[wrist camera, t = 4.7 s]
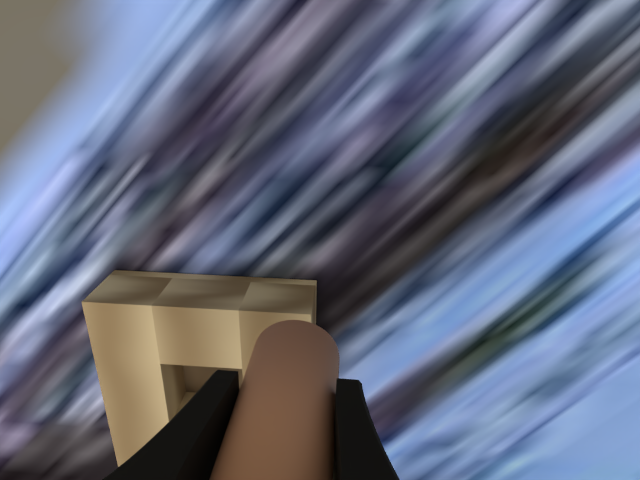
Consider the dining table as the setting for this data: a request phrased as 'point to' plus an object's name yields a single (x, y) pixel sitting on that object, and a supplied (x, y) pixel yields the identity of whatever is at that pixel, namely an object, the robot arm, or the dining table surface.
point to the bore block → (177, 339)
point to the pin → (284, 408)
